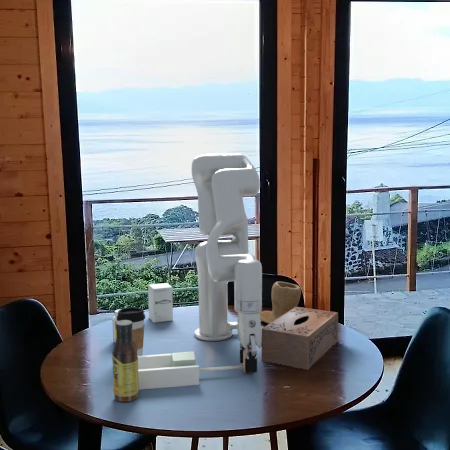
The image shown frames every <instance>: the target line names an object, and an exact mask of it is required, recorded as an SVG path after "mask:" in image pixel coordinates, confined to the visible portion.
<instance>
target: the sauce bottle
mask: <svg viewBox="0 0 450 450" xmlns="http://www.w3.org/2000/svg"><path fill="white" fill-rule="evenodd" d="M116 329H117V338H116V339H117V340H116V343H115V342H114V344H115V345H114V347H113V350H112V353H111V357H112V360H111V361H112V379H113V380H112V381H113V384H112V385H113V395H114V398H115V400H116V401H118V402H122V403H123V402H125V403H126V402H133V401H135V400H136V399H137V398H138V397H139V391H140V390H139V381H138V356H137V346H136V344H135V343H134V342H133V340H132V321H129V320H121V321H118V322H116Z"/></svg>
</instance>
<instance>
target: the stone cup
mask: <svg viewBox="0 0 450 450" xmlns="http://www.w3.org/2000/svg"><path fill="white" fill-rule="evenodd" d="M270 295H271V303H272V305H271V306H272V309H271V310H262V311H261V312H259V313H260V322H261V321H262V322H264V323H266V324H267V325H268V324H270V323H271V322H273V321H274V320H276V319H278V318H279V317H281V316H282V315H284V314H285V313H287V312H288V311H290V310H291V309H293V308H295V307H298V304H299V303H300V298H301V295H302V289H301V287H300V286H299V285H298V284H294V283H290V282H285V281H276V282H274V283H273V285H272V287H271V294H270Z"/></svg>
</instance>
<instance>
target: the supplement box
mask: <svg viewBox="0 0 450 450" xmlns="http://www.w3.org/2000/svg"><path fill="white" fill-rule="evenodd" d="M147 289H148V290H147V293H148V298H147V299H148V318H149V319H150V321H151V322H152V323H153V324H156V323H161V322H172V321H174V307H173V306H174V305H173V304H174V303H173V294H174V293H173V286H171V285H170V284H169V283H167V282H164V283H152V284H148V285H147Z"/></svg>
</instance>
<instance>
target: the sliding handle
mask: <svg viewBox="0 0 450 450" xmlns="http://www.w3.org/2000/svg"><path fill="white" fill-rule="evenodd" d="M193 352H194V351H193V350H192V351H181V352H180V351H178V352H171V353H170V354H171V360H172V367H178V366H191V365H197V359H196V356H195V352H194V353H193ZM248 352H251V350H248ZM245 358H246V349H244V350H243V363H242V364H238V365H226V366H216V367H203V368H202V367H201V368H200V367H199V373H200V372H210V371H213V372H214V371H223V370H234V369H235V370H237V369H243V373H244V374H247V373H246V372H245Z"/></svg>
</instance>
